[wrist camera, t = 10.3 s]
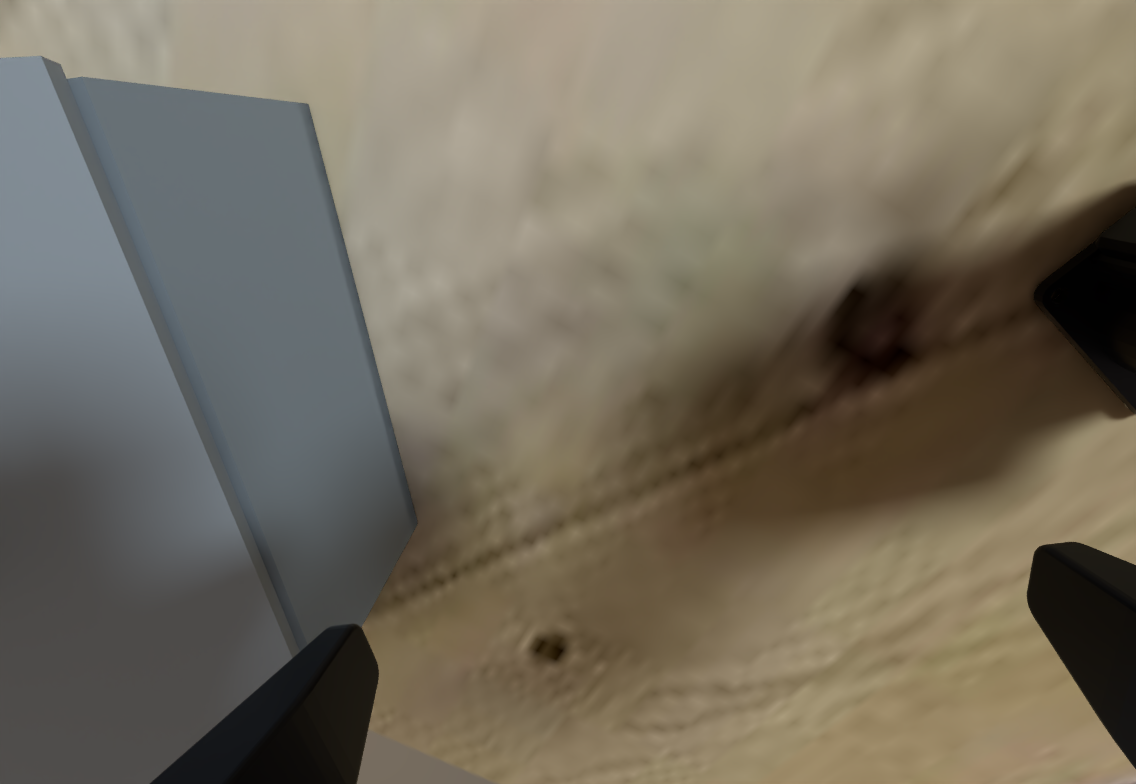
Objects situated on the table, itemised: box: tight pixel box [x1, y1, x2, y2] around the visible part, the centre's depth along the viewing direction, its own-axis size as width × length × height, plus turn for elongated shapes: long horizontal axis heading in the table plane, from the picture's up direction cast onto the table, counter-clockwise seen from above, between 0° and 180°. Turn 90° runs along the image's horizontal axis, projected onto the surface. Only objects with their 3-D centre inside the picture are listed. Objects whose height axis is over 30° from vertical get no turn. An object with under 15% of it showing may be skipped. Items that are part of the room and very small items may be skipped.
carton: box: [67, 77, 418, 651], centre depth 18 cm, size 10×16×8 cm, turn 6°
